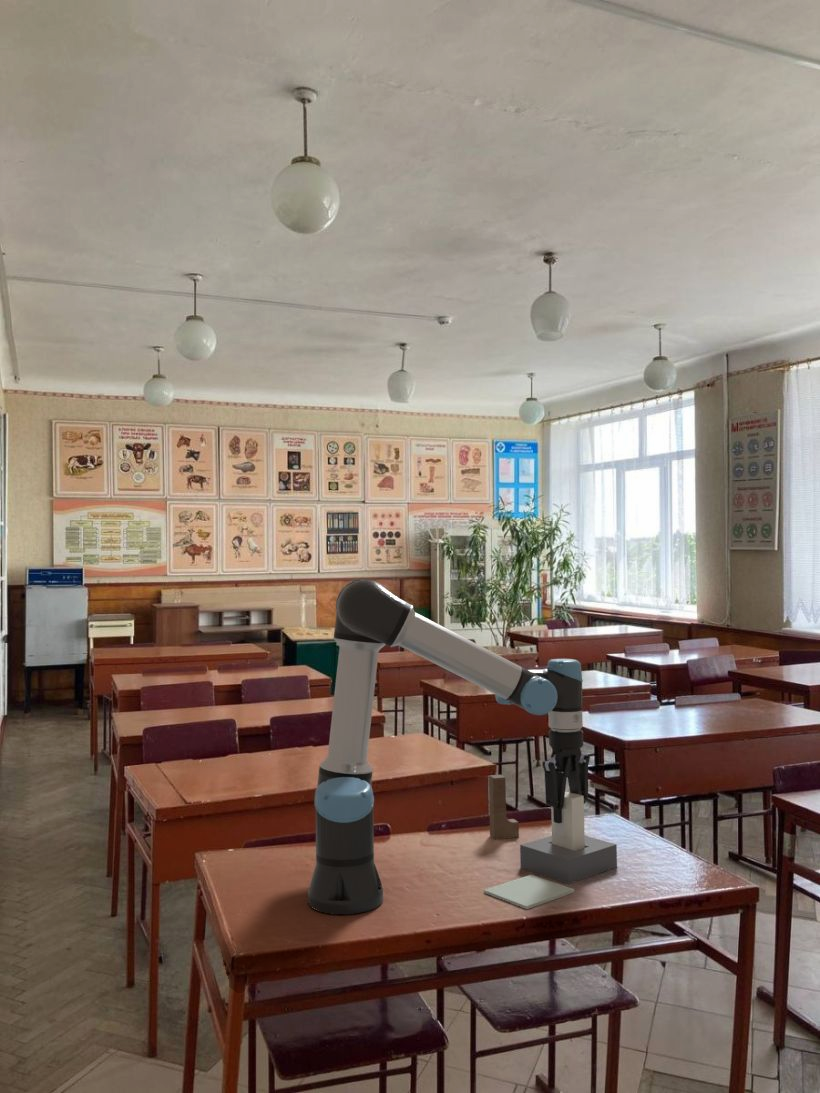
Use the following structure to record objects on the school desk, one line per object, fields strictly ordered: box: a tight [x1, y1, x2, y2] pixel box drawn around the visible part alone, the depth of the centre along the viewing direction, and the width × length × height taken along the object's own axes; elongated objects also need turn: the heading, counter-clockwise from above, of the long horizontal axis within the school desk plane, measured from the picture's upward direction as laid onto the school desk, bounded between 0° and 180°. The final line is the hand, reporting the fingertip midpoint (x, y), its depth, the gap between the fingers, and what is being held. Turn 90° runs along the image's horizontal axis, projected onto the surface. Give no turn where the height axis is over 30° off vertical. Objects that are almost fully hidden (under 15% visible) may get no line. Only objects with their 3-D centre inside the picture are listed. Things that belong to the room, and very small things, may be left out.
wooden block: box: [488, 774, 520, 840], centre depth 223 cm, size 7×3×15 cm, turn 106°
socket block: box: [519, 835, 618, 885], centre depth 199 cm, size 16×14×5 cm
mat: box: [483, 874, 575, 910], centre depth 184 cm, size 14×12×1 cm
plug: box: [550, 790, 586, 851], centre depth 199 cm, size 4×6×16 cm, turn 39°
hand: (568, 834), depth 199 cm, fingers closed on plug, 4 cm apart
